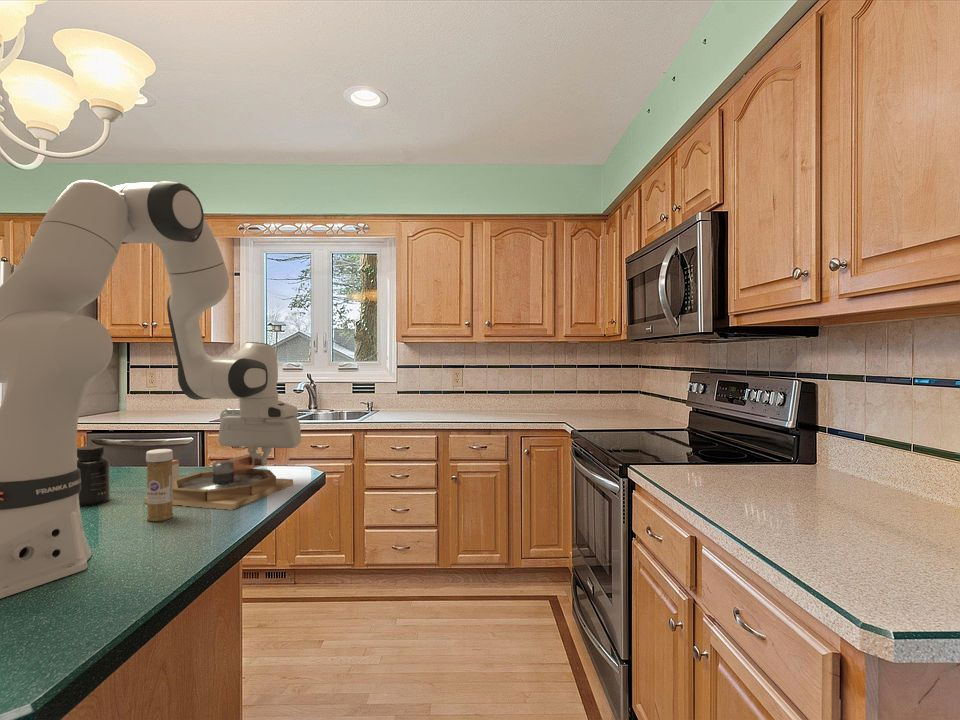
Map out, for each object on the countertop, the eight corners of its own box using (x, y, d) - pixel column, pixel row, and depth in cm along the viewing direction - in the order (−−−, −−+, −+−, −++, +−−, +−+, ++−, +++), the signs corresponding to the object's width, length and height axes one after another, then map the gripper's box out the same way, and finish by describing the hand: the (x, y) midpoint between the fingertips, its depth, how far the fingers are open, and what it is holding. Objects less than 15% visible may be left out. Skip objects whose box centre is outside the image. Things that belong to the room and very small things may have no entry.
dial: (229, 498, 116) (229, 472, 116) (163, 493, 120) (162, 468, 120) (287, 476, 137) (287, 454, 136) (228, 472, 141) (228, 451, 141)
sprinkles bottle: (143, 523, 105) (142, 453, 105) (150, 516, 109) (149, 448, 109) (170, 520, 106) (169, 451, 106) (176, 514, 111) (175, 447, 110)
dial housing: (232, 510, 113) (231, 494, 113) (144, 503, 119) (144, 487, 118) (293, 484, 135) (293, 470, 134) (216, 479, 140) (216, 466, 140)
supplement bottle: (63, 505, 117) (62, 449, 117) (95, 496, 124) (94, 443, 124) (86, 508, 115) (85, 451, 115) (117, 499, 122) (116, 445, 121)
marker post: (171, 490, 129) (170, 462, 128) (162, 490, 129) (162, 461, 129) (179, 488, 131) (178, 460, 131) (170, 487, 132) (170, 459, 131)
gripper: (212, 409, 133) (213, 466, 133) (290, 411, 130) (291, 469, 130) (228, 406, 139) (229, 461, 139) (303, 408, 136) (304, 463, 136)
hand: (259, 465), depth 135 cm, fingers closed
